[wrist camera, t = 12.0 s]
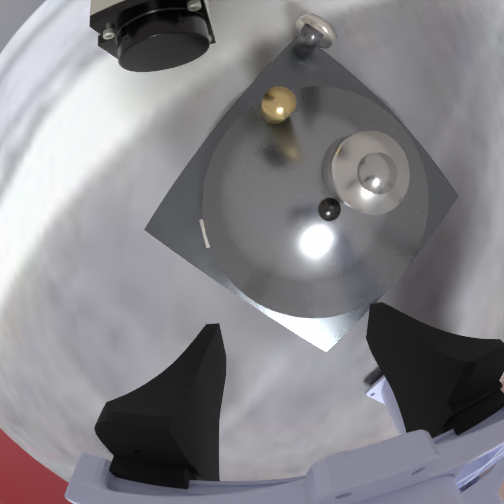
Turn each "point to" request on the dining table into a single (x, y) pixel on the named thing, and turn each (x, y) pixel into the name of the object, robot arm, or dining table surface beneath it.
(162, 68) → the pneumatic valve
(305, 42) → the silver oval knob
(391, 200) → the cover
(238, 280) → the turntable
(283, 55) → the base plate
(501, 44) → the dining table surface
